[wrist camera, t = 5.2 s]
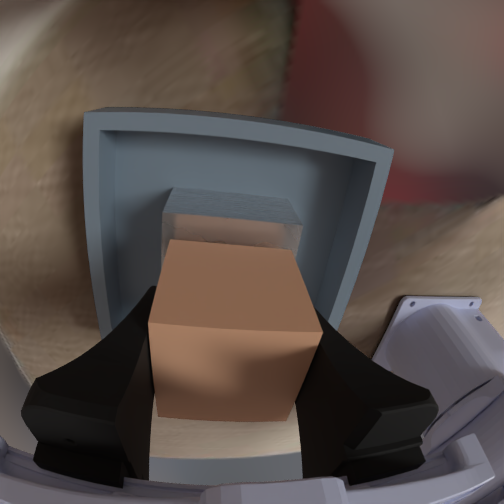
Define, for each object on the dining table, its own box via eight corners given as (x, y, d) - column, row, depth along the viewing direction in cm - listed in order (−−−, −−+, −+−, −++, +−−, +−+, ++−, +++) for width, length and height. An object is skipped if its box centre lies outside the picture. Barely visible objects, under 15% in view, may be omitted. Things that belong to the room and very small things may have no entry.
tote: (368, 138, 16) (394, 149, 14) (312, 335, 23) (322, 365, 20) (106, 107, 14) (83, 112, 11) (114, 322, 21) (104, 353, 18)
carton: (291, 249, 14) (323, 332, 9) (270, 337, 16) (286, 421, 12) (170, 239, 13) (148, 322, 8) (169, 330, 15) (158, 416, 11)
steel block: (287, 198, 17) (303, 225, 14) (268, 292, 20) (277, 330, 17) (173, 187, 16) (162, 212, 13) (169, 284, 19) (162, 322, 16)
